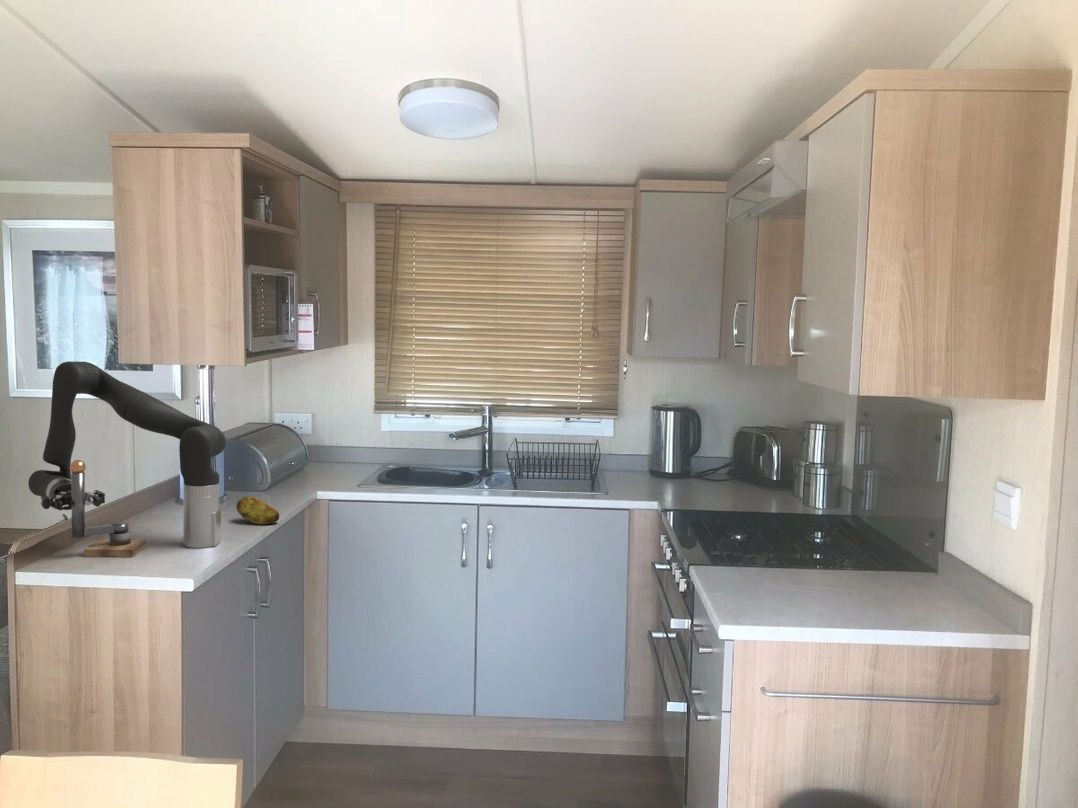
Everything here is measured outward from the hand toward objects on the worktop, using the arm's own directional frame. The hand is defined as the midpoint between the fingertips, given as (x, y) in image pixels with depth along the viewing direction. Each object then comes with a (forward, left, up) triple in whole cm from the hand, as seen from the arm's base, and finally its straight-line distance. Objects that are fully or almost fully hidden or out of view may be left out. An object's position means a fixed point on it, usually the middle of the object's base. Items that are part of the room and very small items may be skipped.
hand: (80, 504), depth 211 cm
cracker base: (-7, -6, -14) cm, 17 cm away
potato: (-36, -39, -14) cm, 55 cm away
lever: (-3, -4, -9) cm, 10 cm away
